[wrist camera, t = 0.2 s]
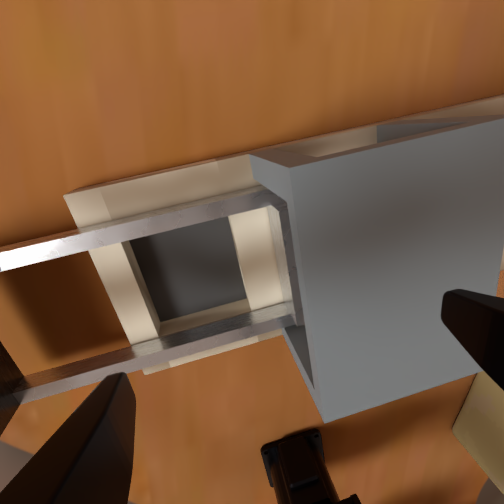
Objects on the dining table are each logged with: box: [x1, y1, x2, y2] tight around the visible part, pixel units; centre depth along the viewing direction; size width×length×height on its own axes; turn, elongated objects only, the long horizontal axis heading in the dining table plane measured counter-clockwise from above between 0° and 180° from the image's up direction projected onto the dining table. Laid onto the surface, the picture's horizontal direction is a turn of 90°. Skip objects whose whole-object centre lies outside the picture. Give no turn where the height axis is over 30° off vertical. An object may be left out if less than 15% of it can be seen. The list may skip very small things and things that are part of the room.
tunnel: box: [249, 114, 504, 424], centre depth 18 cm, size 14×10×8 cm
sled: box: [0, 185, 305, 436], centre depth 18 cm, size 10×29×6 cm, turn 101°
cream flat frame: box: [63, 94, 504, 375], centre depth 22 cm, size 14×32×2 cm, turn 101°
